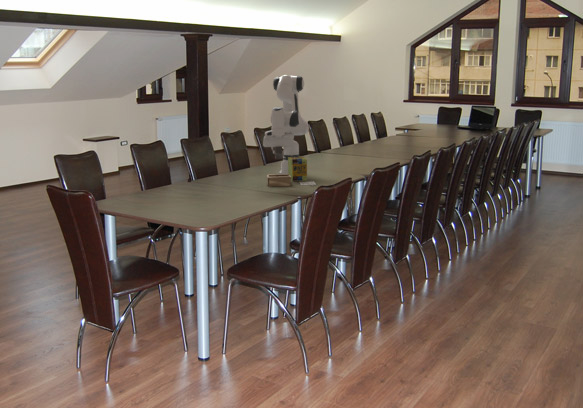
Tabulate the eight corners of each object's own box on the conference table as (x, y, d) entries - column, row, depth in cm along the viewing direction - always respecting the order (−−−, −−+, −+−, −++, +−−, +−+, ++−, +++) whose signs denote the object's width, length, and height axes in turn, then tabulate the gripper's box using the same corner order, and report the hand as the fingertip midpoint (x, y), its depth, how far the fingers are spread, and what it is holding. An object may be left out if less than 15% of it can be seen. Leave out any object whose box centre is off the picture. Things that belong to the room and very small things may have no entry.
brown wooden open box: (267, 183, 434) (267, 174, 432) (289, 183, 435) (289, 173, 433) (267, 186, 422) (267, 177, 421) (291, 186, 423) (291, 176, 422)
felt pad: (299, 183, 435) (299, 181, 435) (314, 182, 436) (314, 181, 436) (300, 186, 424) (300, 184, 423) (316, 185, 424) (316, 184, 424)
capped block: (274, 158, 428) (274, 146, 426) (281, 157, 428) (281, 145, 427) (275, 159, 422) (275, 147, 420) (282, 159, 422) (282, 147, 420)
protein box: (292, 182, 440) (292, 159, 437) (288, 178, 454) (287, 156, 451) (307, 181, 442) (307, 158, 438) (302, 178, 456) (302, 156, 453)
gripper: (293, 131, 425) (293, 152, 428) (262, 132, 424) (263, 153, 427) (294, 132, 419) (294, 153, 422) (262, 133, 418) (263, 154, 420)
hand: (278, 153), depth 424 cm, fingers closed on capped block, 4 cm apart
